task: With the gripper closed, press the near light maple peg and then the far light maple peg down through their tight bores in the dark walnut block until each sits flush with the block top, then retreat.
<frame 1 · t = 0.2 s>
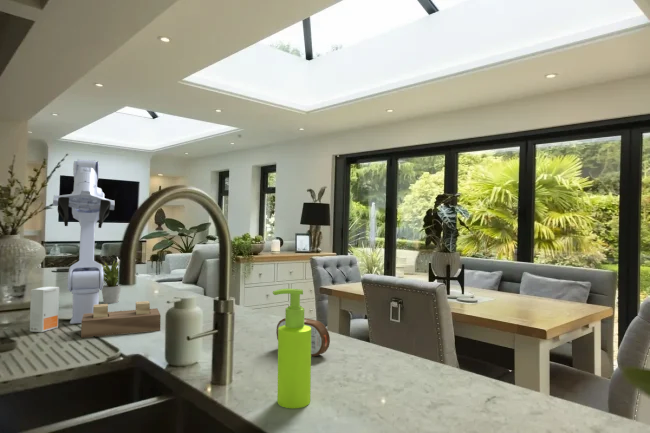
hand: (83, 224, 114), 31 cm above the table, tool tilted 45°, fingers open, 7 cm apart
walnut block: (121, 329, 128), on the table
soap dispenser: (291, 402, 79), on the table
skincare box: (44, 330, 127), on the table
house plant: (110, 302, 170), on the table
near maple peg: (100, 312, 125), point 6 cm above the table, slide at 0.0 cm
tin: (301, 353, 108), on the table
far maple peg: (142, 309, 130), point 6 cm above the table, slide at 0.0 cm
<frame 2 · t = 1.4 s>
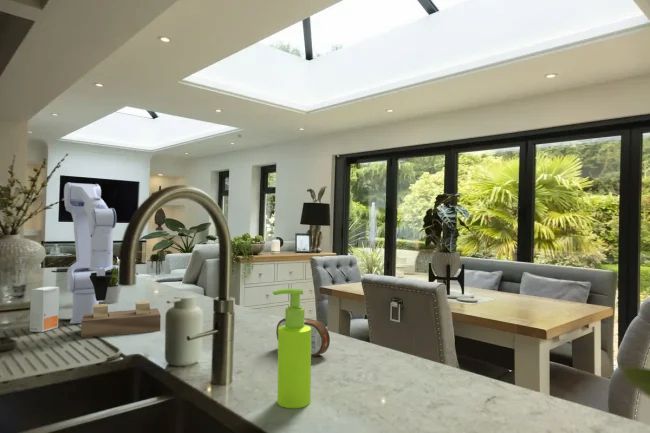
hand: (100, 298, 125), 9 cm above the table, tool pointing down, fingers open, 6 cm apart
nothing on the table moved.
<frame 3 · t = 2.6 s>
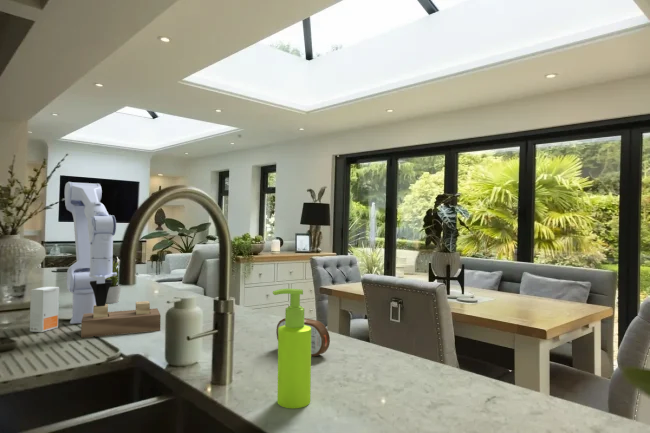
hand: (100, 305, 125), 7 cm above the table, tool pointing down, fingers closed, pressing on near maple peg
near maple peg: (100, 312, 125), point 5 cm above the table, slide at 0.1 cm, touching gripper
everything else where it was.
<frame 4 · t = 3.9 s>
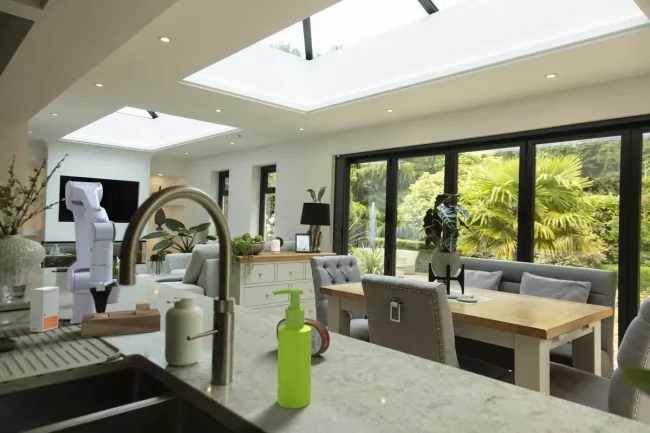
hand: (100, 312, 125), 5 cm above the table, tool pointing down, fingers closed
near maple peg: (100, 322, 125), point 2 cm above the table, slide at 3.0 cm
everything else where it was.
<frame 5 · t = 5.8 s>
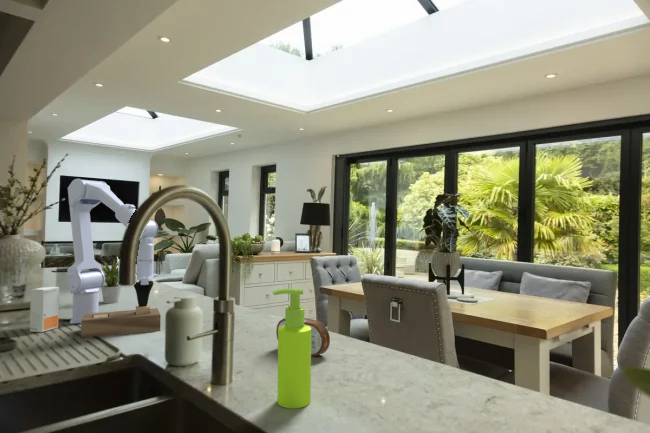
hand: (142, 306, 130), 6 cm above the table, tool pointing down, fingers closed, pressing on far maple peg
far maple peg: (142, 312, 130), point 4 cm above the table, slide at 1.1 cm, touching gripper
everything else where it was.
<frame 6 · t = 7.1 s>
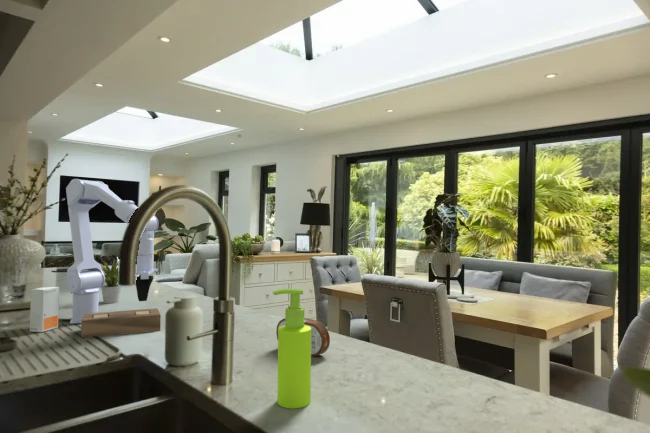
hand: (142, 300, 130), 8 cm above the table, tool pointing down, fingers closed
far maple peg: (142, 319, 130), point 2 cm above the table, slide at 3.0 cm
everything else where it was.
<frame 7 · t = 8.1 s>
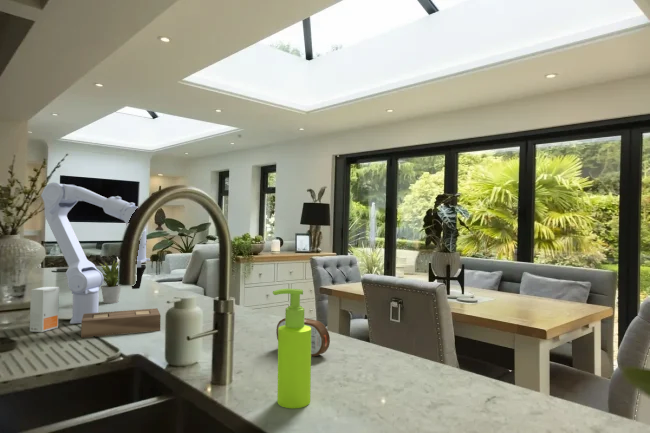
hand: (135, 288, 137), 10 cm above the table, tool pointing down, fingers closed
nothing on the table moved.
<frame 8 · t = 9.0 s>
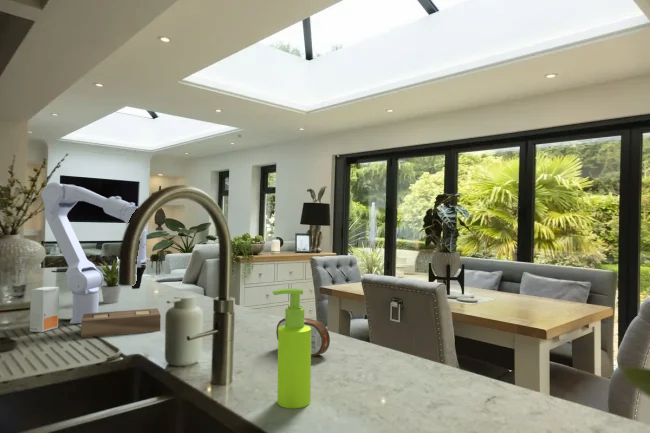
hand: (135, 288, 137), 10 cm above the table, tool pointing down, fingers closed
nothing on the table moved.
at the end: near maple peg slide at 3.0 cm; far maple peg slide at 3.0 cm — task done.
